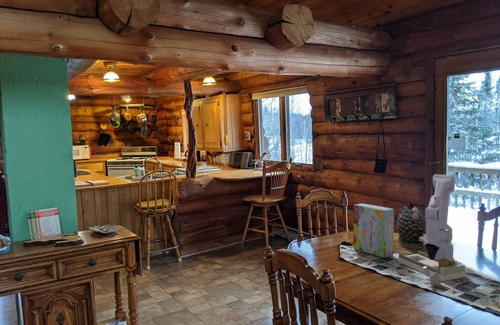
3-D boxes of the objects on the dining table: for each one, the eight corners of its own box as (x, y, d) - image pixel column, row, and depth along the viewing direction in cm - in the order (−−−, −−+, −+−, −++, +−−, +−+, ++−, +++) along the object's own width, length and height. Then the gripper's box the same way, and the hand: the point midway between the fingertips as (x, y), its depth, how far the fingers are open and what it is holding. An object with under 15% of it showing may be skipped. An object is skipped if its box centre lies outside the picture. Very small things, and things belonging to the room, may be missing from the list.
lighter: (439, 284, 175) (440, 266, 174) (440, 285, 173) (441, 268, 172) (422, 283, 176) (422, 265, 176) (423, 284, 175) (423, 267, 174)
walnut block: (446, 268, 187) (446, 257, 187) (455, 271, 183) (455, 261, 182) (438, 269, 186) (438, 259, 185) (446, 273, 181) (447, 262, 180)
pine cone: (431, 249, 223) (432, 205, 220) (404, 250, 223) (405, 206, 221) (416, 239, 244) (417, 199, 241) (391, 239, 244) (392, 199, 241)
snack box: (394, 255, 214) (395, 208, 212) (384, 258, 209) (384, 210, 207) (362, 246, 232) (362, 202, 229) (352, 248, 227) (352, 204, 225)
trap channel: (419, 258, 209) (419, 248, 209) (465, 276, 183) (465, 265, 182) (398, 261, 204) (398, 251, 204) (441, 281, 178) (442, 269, 178)
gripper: (414, 229, 196) (414, 255, 198) (438, 236, 183) (437, 265, 184) (426, 227, 199) (425, 253, 200) (449, 234, 185) (448, 263, 187)
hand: (431, 259), depth 192 cm, fingers closed
